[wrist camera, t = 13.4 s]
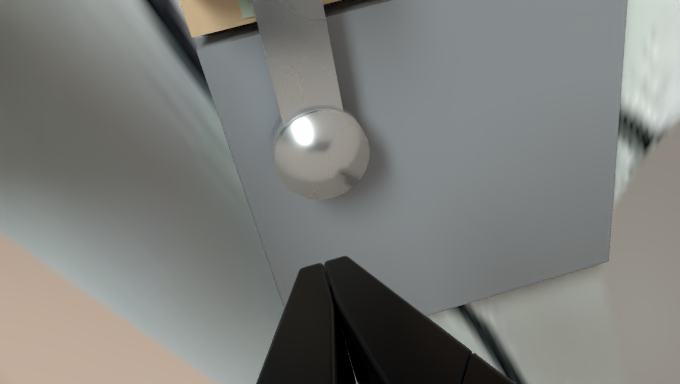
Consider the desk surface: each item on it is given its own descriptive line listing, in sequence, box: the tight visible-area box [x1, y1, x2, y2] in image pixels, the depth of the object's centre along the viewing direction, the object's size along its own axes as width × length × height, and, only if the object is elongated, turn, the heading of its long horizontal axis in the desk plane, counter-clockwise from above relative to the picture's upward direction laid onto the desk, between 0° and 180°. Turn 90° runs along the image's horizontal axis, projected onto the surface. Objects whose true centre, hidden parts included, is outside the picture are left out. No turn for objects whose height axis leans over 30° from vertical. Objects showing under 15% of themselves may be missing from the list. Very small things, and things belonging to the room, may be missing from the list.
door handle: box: [251, 0, 370, 200], centre depth 15 cm, size 12×3×4 cm, turn 11°
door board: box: [179, 0, 627, 316], centre depth 19 cm, size 15×22×4 cm
